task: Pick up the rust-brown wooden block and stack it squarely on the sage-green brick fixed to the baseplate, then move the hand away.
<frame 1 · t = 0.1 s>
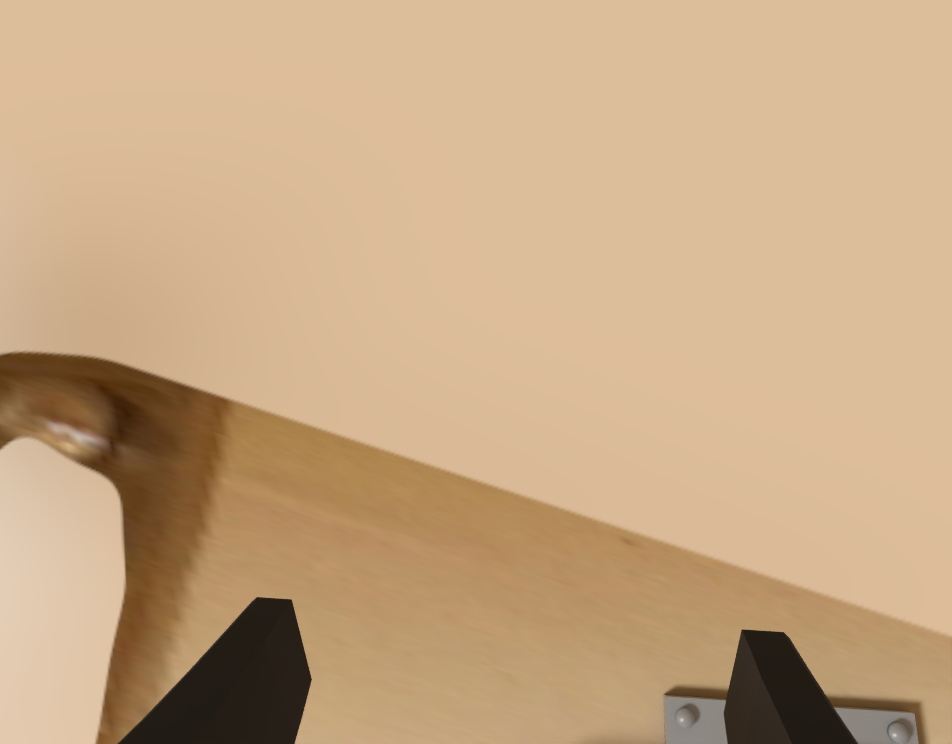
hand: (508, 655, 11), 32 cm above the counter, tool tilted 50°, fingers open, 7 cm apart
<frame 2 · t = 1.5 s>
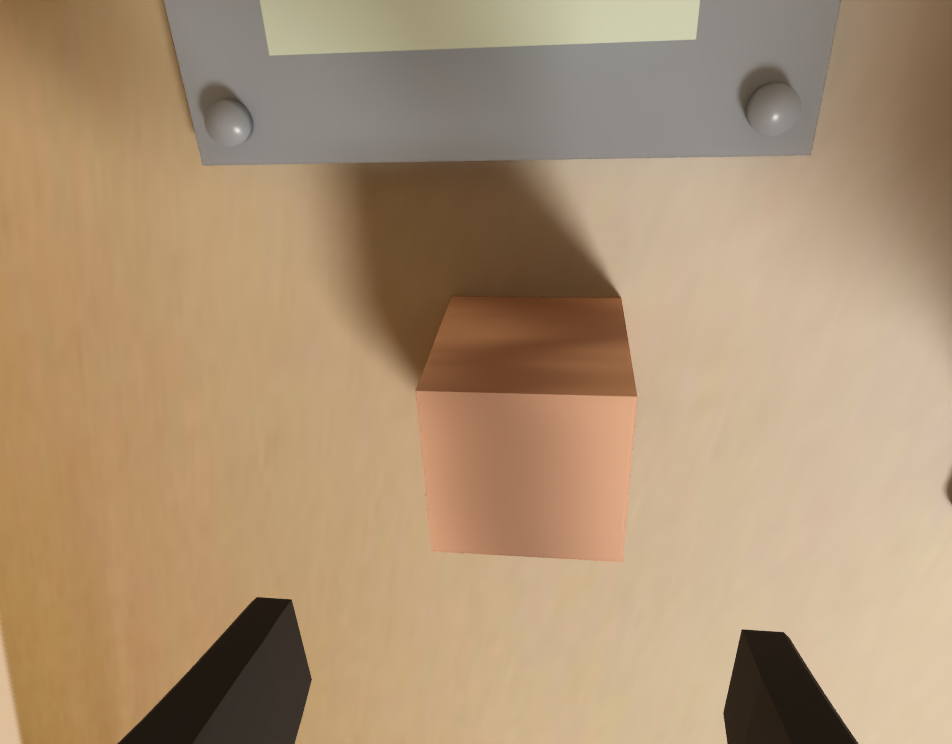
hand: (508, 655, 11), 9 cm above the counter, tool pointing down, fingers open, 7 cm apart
rust block: (535, 369, 19), on the counter
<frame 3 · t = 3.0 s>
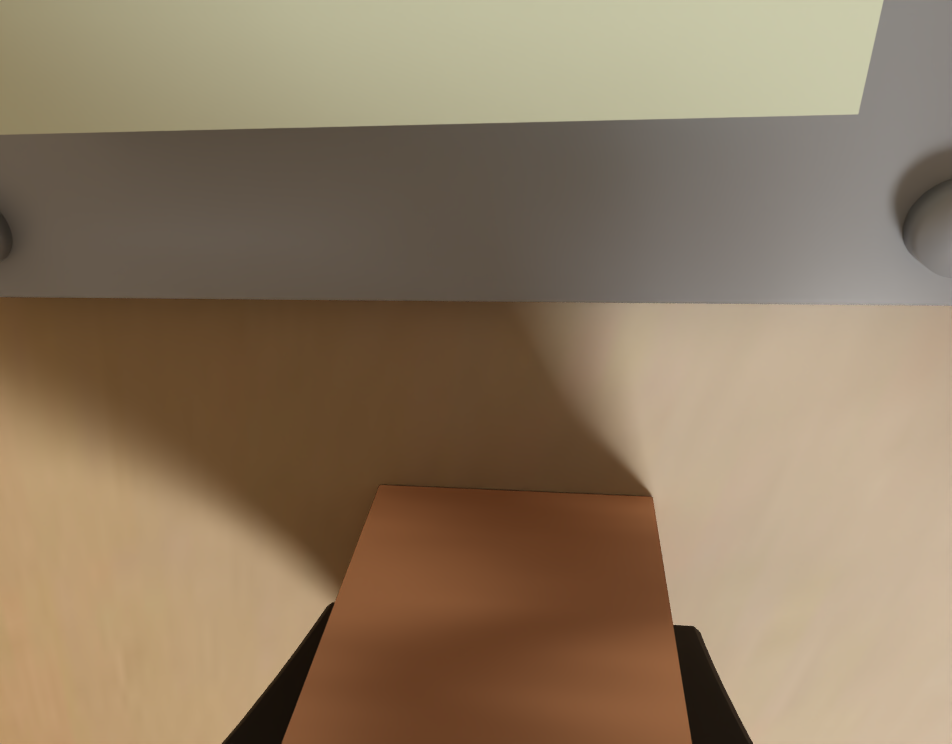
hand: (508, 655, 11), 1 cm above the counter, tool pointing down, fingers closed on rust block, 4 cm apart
rust block: (514, 587, 12), on the counter, touching gripper
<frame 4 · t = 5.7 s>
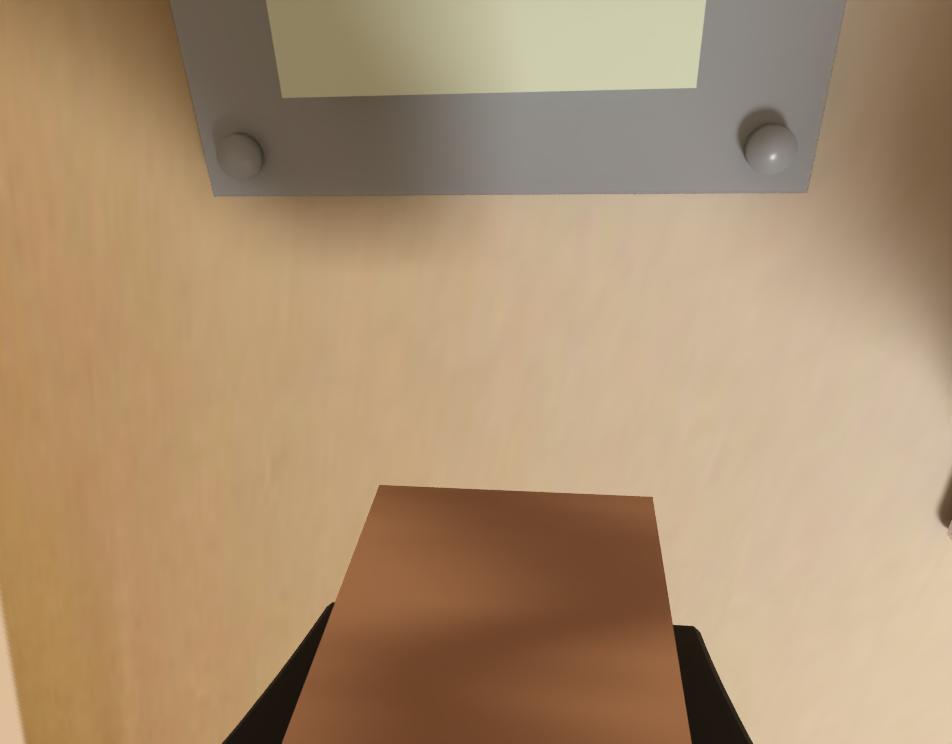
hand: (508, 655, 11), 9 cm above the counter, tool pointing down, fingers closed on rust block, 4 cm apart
rust block: (514, 588, 12), point 8 cm above the counter, touching gripper
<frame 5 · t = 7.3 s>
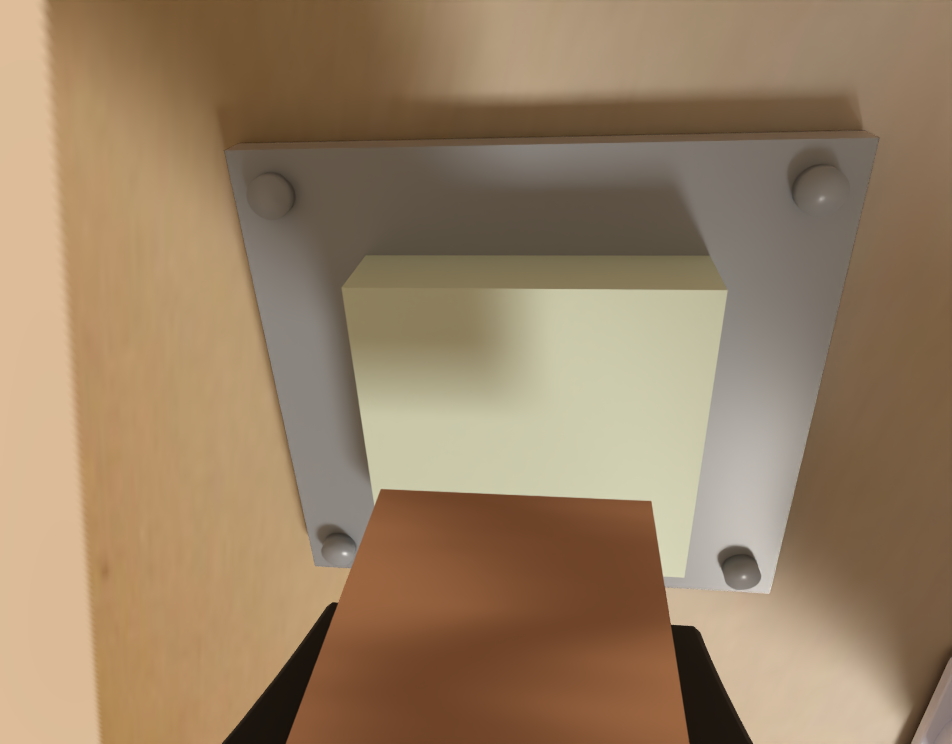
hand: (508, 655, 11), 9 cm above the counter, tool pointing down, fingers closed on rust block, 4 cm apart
baseplate: (534, 385, 19), on the counter
rust block: (514, 590, 12), point 7 cm above the counter, touching gripper
sage brick: (534, 385, 19), resting on baseplate
when the fingers open (5 cm above the counter, at t = 8.4 s): rust block stays where it is, resting on sage brick.
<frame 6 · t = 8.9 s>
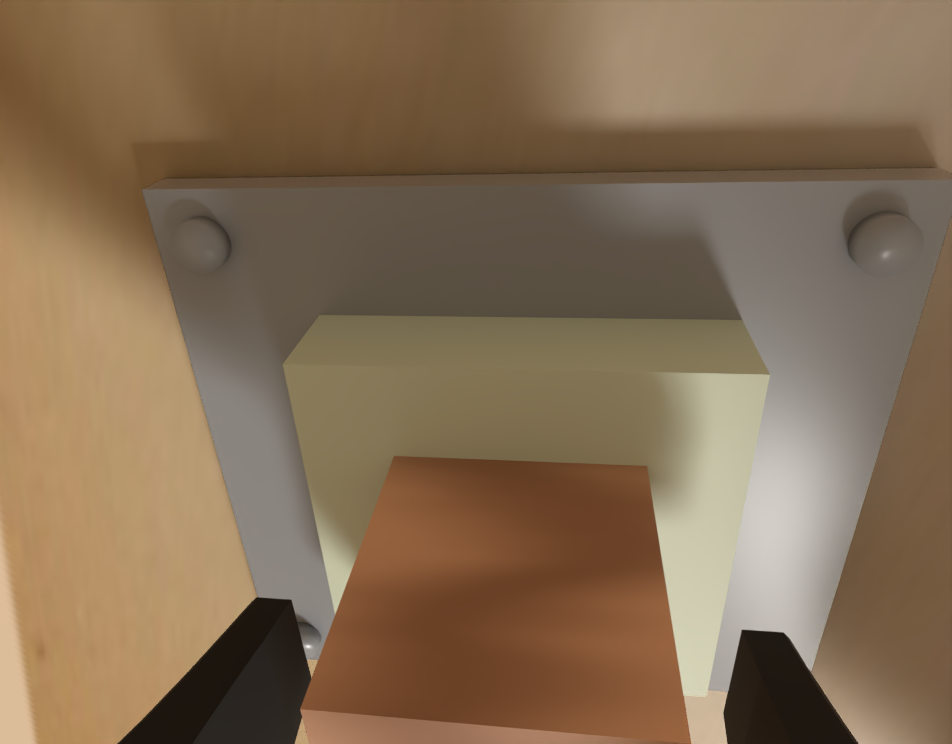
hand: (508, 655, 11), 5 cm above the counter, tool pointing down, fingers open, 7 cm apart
baseplate: (526, 461, 16), on the counter
rust block: (518, 553, 13), point 3 cm above the counter, touching sage brick
sage brick: (526, 461, 16), resting on baseplate
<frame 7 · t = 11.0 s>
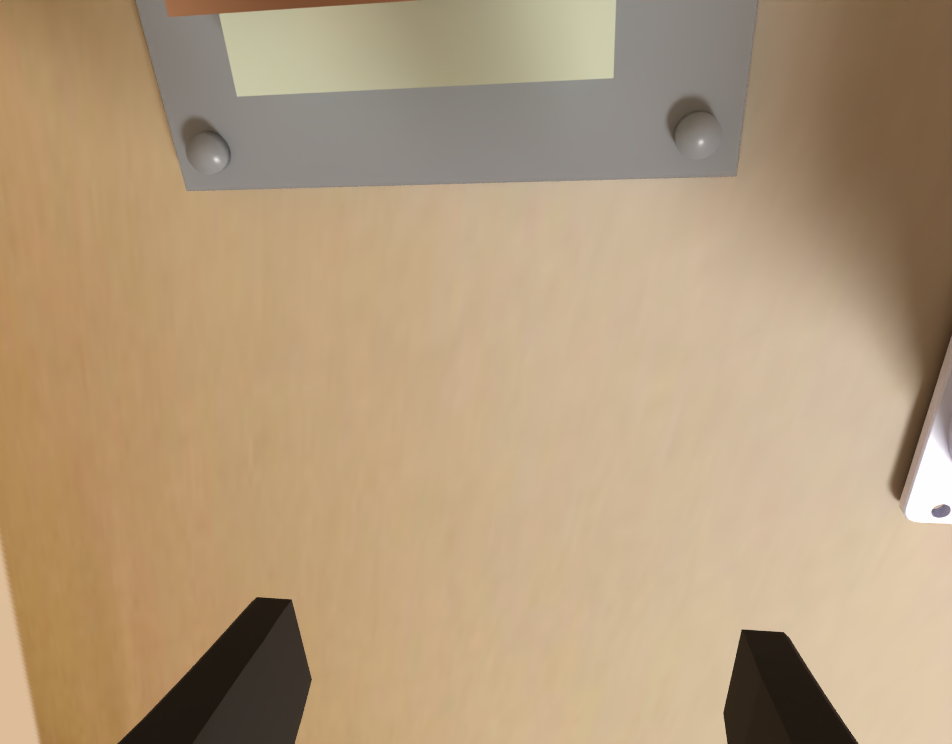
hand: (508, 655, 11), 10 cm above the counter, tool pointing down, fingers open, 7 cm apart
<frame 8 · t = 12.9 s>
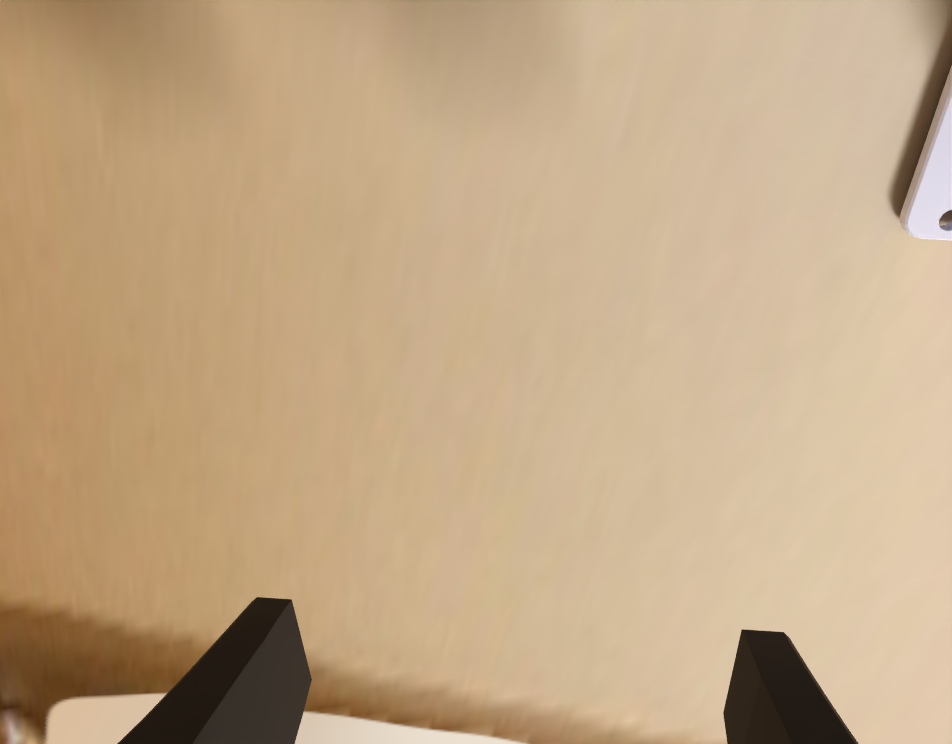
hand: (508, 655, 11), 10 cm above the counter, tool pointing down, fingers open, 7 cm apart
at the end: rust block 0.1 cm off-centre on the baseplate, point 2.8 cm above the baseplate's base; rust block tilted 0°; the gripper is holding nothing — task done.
